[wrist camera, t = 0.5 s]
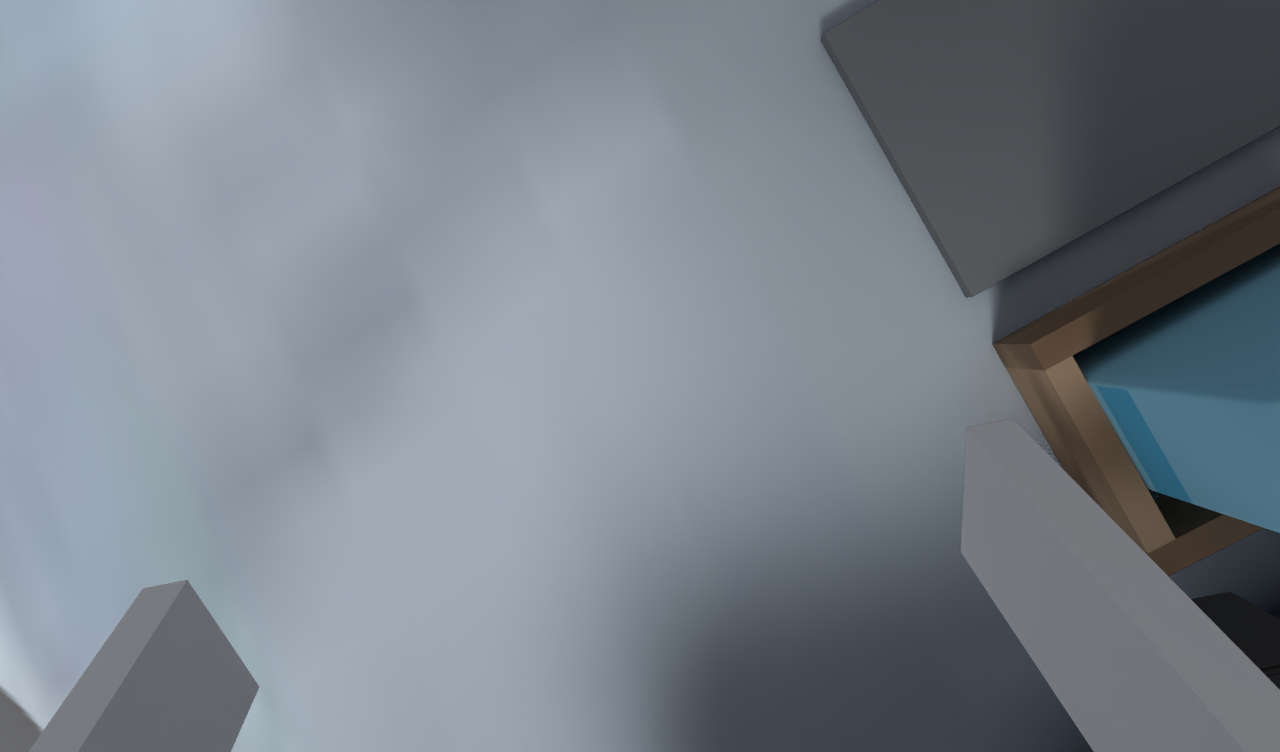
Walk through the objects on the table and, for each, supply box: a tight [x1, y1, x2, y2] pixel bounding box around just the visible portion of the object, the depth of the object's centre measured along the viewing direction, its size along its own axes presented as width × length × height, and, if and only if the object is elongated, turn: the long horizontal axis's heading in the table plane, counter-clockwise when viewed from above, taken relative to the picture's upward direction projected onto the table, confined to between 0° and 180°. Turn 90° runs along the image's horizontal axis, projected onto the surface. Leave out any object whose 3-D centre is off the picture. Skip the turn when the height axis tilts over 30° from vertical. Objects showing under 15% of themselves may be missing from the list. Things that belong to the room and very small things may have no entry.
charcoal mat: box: [821, 0, 1280, 297], centre depth 26 cm, size 11×16×1 cm
